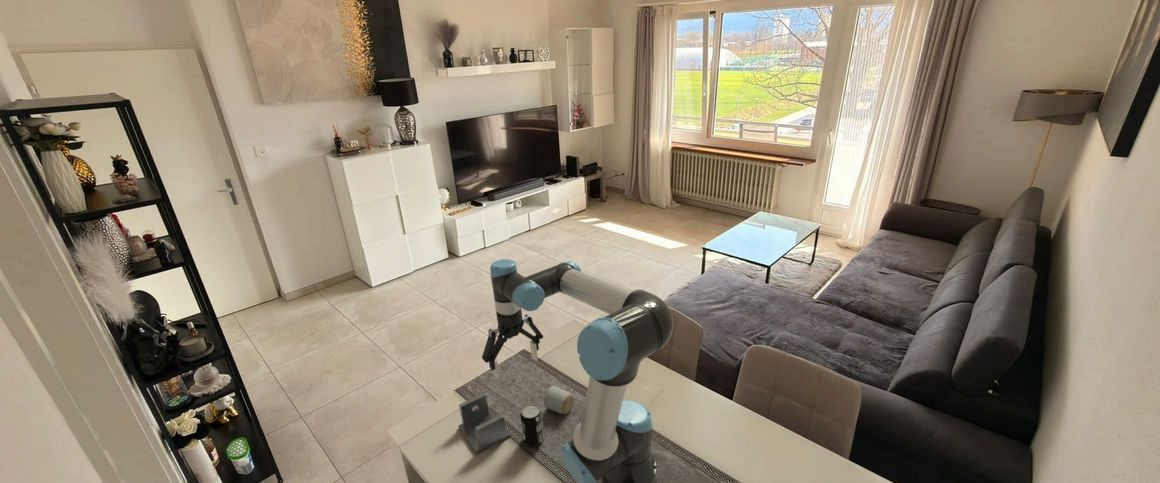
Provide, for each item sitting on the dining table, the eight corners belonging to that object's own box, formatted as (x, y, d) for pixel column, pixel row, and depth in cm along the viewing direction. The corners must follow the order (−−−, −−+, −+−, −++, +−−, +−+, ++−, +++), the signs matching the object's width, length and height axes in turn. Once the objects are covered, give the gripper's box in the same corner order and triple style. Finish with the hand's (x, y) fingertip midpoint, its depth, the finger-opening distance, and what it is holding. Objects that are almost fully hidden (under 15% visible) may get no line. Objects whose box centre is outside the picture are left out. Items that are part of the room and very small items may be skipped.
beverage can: (520, 436, 153) (517, 407, 148) (539, 429, 156) (536, 400, 151) (527, 451, 148) (523, 421, 143) (547, 443, 150) (544, 414, 145)
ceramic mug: (564, 420, 159) (563, 401, 156) (543, 412, 163) (542, 394, 160) (579, 400, 167) (579, 382, 165) (559, 393, 171) (558, 375, 168)
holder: (510, 436, 154) (508, 414, 150) (476, 454, 147) (472, 432, 144) (491, 411, 164) (488, 390, 160) (458, 428, 158) (454, 406, 154)
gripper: (537, 291, 152) (543, 347, 160) (464, 318, 139) (474, 378, 147) (550, 300, 146) (555, 357, 154) (475, 329, 133) (485, 390, 141)
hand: (516, 367), depth 151 cm, fingers open, 13 cm apart
